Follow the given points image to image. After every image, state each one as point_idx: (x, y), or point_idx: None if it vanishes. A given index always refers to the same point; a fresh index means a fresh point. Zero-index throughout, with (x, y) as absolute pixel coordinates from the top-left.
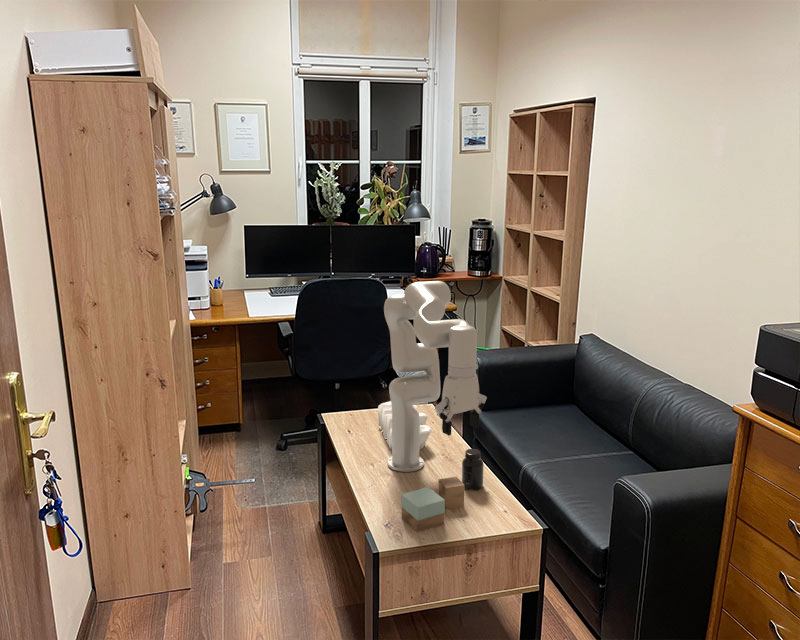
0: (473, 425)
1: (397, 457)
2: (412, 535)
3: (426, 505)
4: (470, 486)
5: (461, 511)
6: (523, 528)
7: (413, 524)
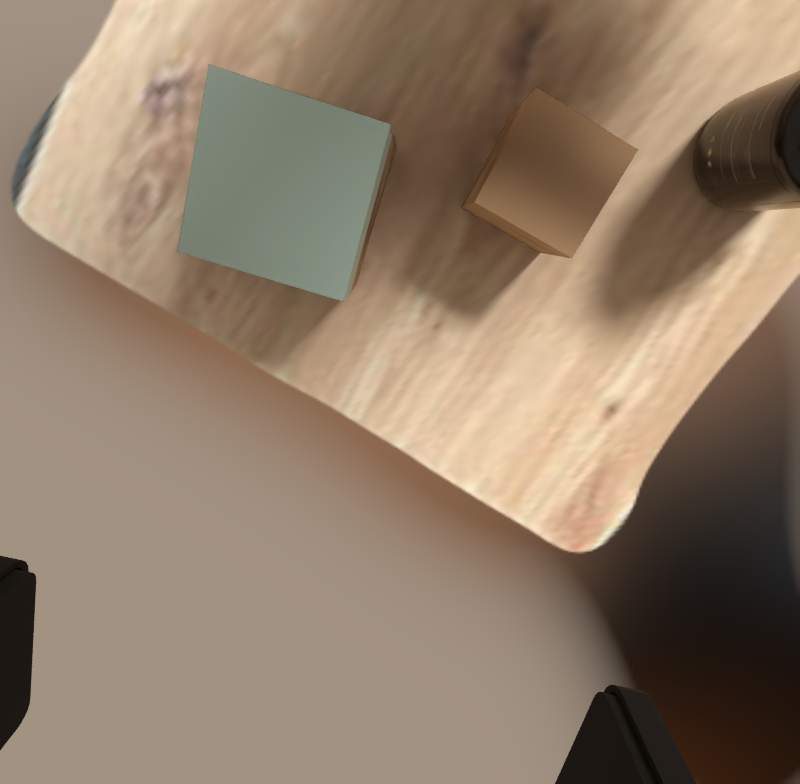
0: (572, 779)
1: None
2: None
3: (229, 266)
4: (705, 177)
5: (491, 274)
6: (536, 523)
7: None
